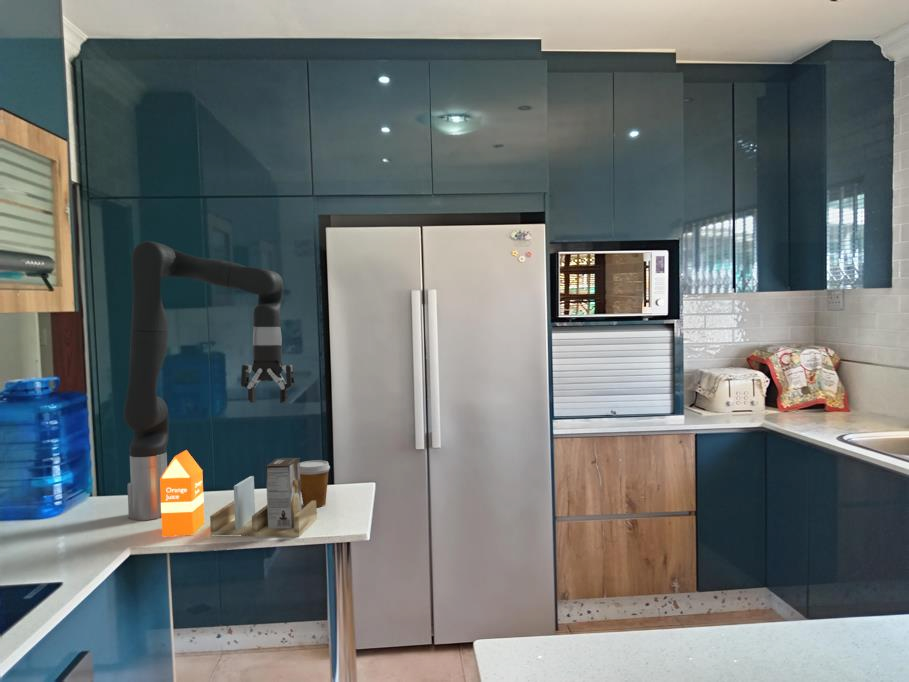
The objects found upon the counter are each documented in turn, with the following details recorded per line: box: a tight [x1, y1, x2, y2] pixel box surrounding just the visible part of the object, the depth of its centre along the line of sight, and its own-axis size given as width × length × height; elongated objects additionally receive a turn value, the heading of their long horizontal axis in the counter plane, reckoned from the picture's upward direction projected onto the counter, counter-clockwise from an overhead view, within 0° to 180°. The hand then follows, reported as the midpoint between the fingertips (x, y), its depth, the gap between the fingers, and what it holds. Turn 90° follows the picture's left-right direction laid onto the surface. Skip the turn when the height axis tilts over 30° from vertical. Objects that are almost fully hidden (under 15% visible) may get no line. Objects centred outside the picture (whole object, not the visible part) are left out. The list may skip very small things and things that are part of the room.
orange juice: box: [160, 449, 205, 537], centre depth 165 cm, size 8×9×20 cm
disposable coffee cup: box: [300, 459, 331, 508], centre depth 185 cm, size 10×10×12 cm
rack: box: [209, 500, 318, 538], centre depth 166 cm, size 23×14×5 cm, turn 85°
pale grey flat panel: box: [233, 475, 256, 530], centre depth 166 cm, size 1×10×11 cm, turn 174°
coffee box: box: [265, 457, 303, 529], centre depth 165 cm, size 9×6×16 cm
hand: (267, 402), depth 176 cm, fingers open, 8 cm apart
